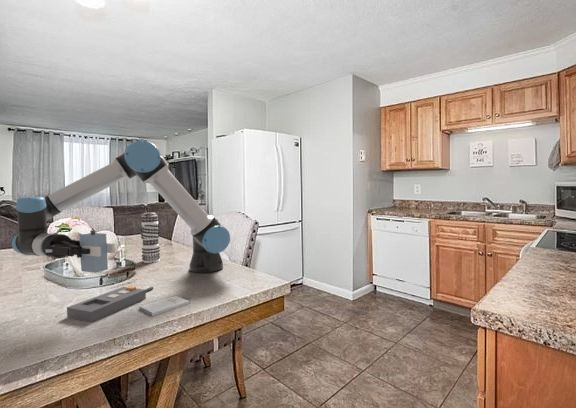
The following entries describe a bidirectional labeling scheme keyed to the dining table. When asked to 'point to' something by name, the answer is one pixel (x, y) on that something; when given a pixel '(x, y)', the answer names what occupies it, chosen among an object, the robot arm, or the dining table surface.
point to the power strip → (106, 303)
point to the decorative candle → (150, 237)
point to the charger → (94, 262)
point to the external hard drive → (163, 305)
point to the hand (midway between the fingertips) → (106, 250)
